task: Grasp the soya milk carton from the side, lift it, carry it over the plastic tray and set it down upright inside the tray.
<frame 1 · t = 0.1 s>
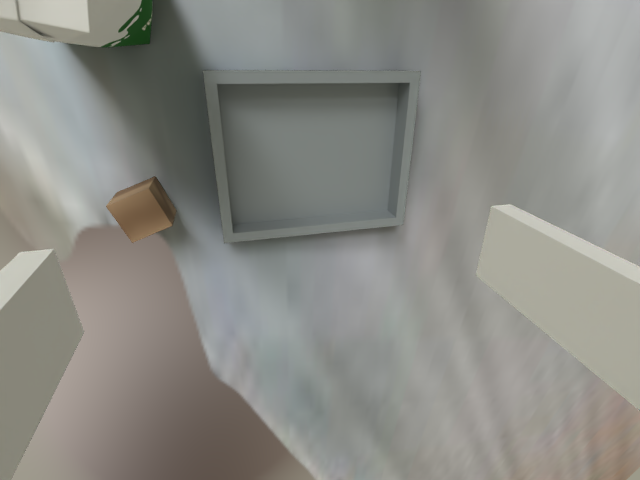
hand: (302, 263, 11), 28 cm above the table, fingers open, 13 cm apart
walnut block: (147, 201, 36), on the table
tray: (312, 153, 38), on the table
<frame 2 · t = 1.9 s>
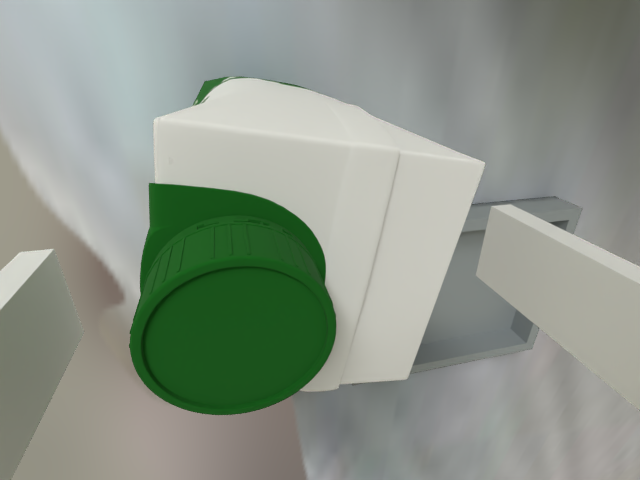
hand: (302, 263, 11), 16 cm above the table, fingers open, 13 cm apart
tray: (444, 282, 35), on the table
soya milk: (256, 143, 25), on the table
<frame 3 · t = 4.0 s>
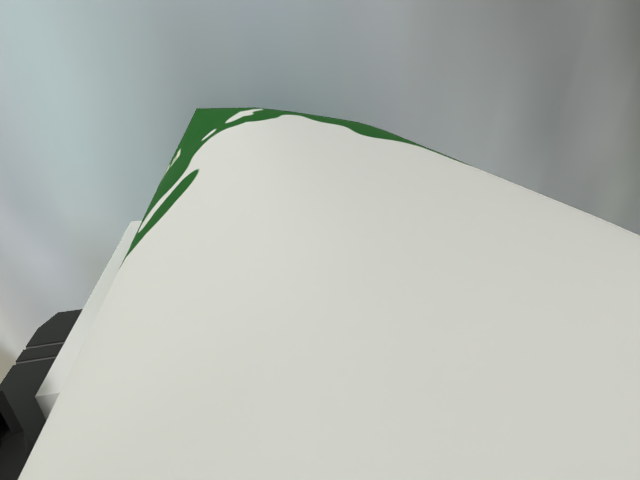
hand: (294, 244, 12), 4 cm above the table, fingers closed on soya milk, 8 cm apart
soya milk: (277, 200, 16), on the table, touching gripper
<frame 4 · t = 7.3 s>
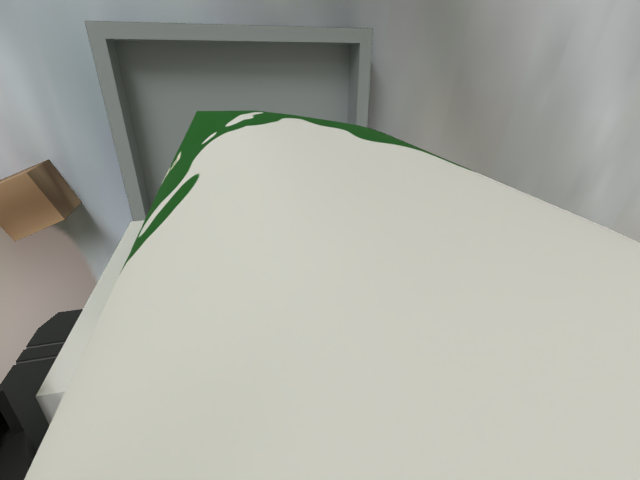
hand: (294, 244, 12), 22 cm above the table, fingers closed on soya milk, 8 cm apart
walnut block: (43, 191, 30), on the table
tray: (247, 133, 32), on the table
soya milk: (277, 202, 16), point 18 cm above the table, touching gripper
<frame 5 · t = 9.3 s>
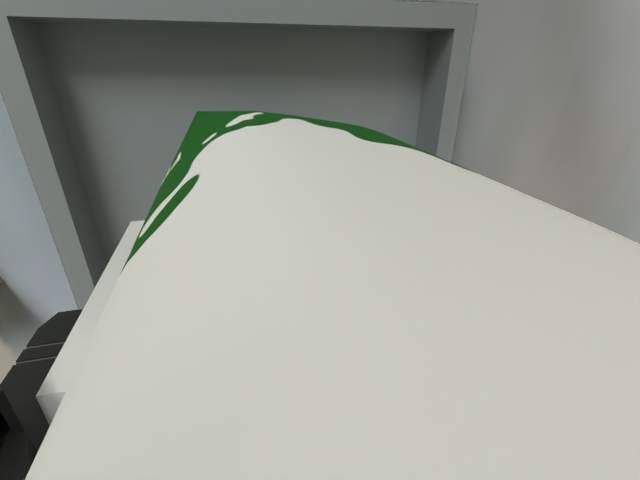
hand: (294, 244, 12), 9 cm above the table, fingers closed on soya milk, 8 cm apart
tray: (263, 171, 21), on the table
soya milk: (277, 202, 16), point 5 cm above the table, touching gripper
when the fingers open (7 cm above the table, at t = 10.8 s): soya milk drops 2 cm, resting on tray.
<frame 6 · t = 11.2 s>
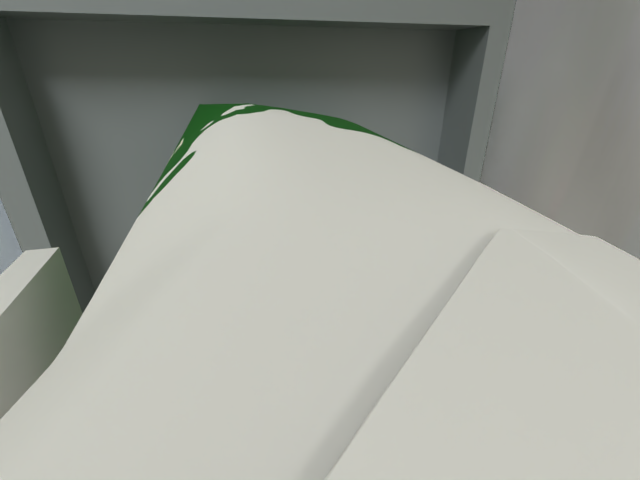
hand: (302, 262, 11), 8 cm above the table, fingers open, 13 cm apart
tray: (269, 185, 18), on the table
soya milk: (272, 189, 18), resting on tray
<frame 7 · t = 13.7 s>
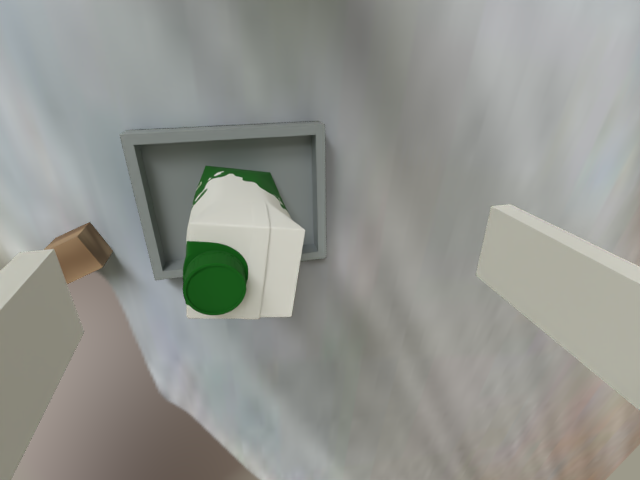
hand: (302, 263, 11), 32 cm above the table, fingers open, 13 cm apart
walnut block: (85, 244, 40), on the table
tray: (236, 196, 42), on the table
soya milk: (236, 198, 42), resting on tray
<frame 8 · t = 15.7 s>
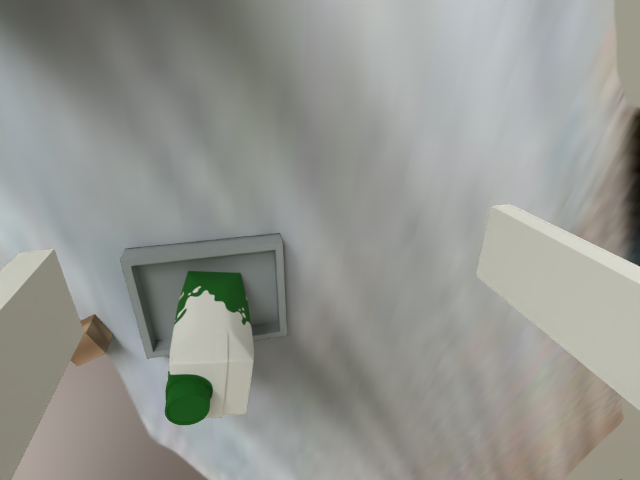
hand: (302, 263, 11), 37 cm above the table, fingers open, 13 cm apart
walnut block: (90, 330, 50), on the table
tray: (213, 290, 52), on the table
soya milk: (213, 291, 52), resting on tray
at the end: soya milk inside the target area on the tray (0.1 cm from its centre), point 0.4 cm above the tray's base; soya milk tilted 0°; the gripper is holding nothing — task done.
